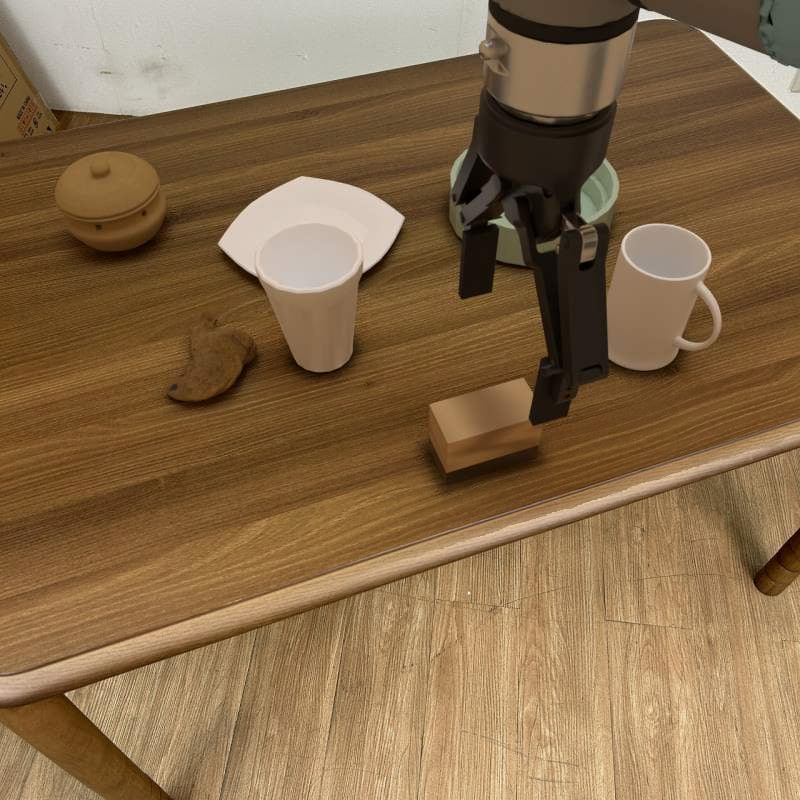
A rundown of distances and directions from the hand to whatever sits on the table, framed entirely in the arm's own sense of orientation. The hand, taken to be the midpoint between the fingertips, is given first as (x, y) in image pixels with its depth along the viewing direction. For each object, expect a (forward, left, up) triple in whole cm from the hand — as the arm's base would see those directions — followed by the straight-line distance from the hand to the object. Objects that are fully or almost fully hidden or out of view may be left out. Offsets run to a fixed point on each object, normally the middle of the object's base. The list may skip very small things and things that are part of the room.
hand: (508, 351), depth 57 cm
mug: (-8, -20, -15) cm, 26 cm away
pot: (+53, -7, -15) cm, 56 cm away
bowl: (+12, -34, -15) cm, 39 cm away
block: (+1, 0, -15) cm, 15 cm away
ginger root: (+30, +5, -15) cm, 34 cm away
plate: (+32, -17, -15) cm, 39 cm away
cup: (+21, -3, -15) cm, 26 cm away
